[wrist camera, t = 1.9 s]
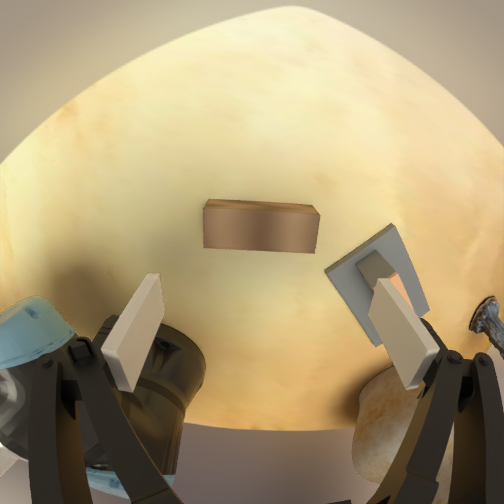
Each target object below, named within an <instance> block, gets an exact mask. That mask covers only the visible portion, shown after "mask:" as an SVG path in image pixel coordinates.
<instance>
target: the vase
mask: <svg viewBox="0 0 504 504" xmlns="http://www.w3.org/2000/svg"><path fill="white" fill-rule="evenodd" d="M424 386H425V383H424V381H423V380H422V382H421V383H420V385H419V386H418V388H414V389H409V390H406V389H405V387H404V385H403V383H402V381H401V378H400V376H399V374H398V372H397V370H396V368H395V366H393V367H391V368H388V369H387V370H385V371H383V372H382V373H380V374H378V375H377V376H375V377H374V378H373V379H372V380H370V381H369V382H368V383H367V384H366V386H365V387H364V388H363V389H362V391H361V393H360V395H359V405H360V411H359V415H358V419H357V424H356V428H355V432H354V437H353V442H352V461H353V465H354V468H355V470H356V472H357V473H358V474H359V475H360V476H361V477H363V478H364V479H366V480H368V481H370V482H375V483H380V484H381V483H382V481H383V479H384V477H385V475H386V474H387V472H388V470H389V468H390V466H391V464H392V462H393V460H394V458H395V456H396V454H397V452H398V450H399V448H400V445H401V443H402V441H403V439H404V437H405V434H406V432H407V430H408V427H409V425H410V422H411V420H412V417H413V415H414V412H415V409H416V407H417V404H418V401H419V399H417V397H418V395H419V394H420V392H421V391H422V389H423V388H424ZM419 398H420V397H419ZM453 446H454V422H453V426H452V430H451V434H450V437H449V441H448V444H447V448H446V451H445V454H444V457H443V460H442V463H441V466H440V469H439V472H438V474H437V477H436V481H437V482H439V487H438V491H437V493H436V495H435V498H434V500H433V503H432V504H448V498H449V492H450V484H451V475H452V463H453Z"/></svg>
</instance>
